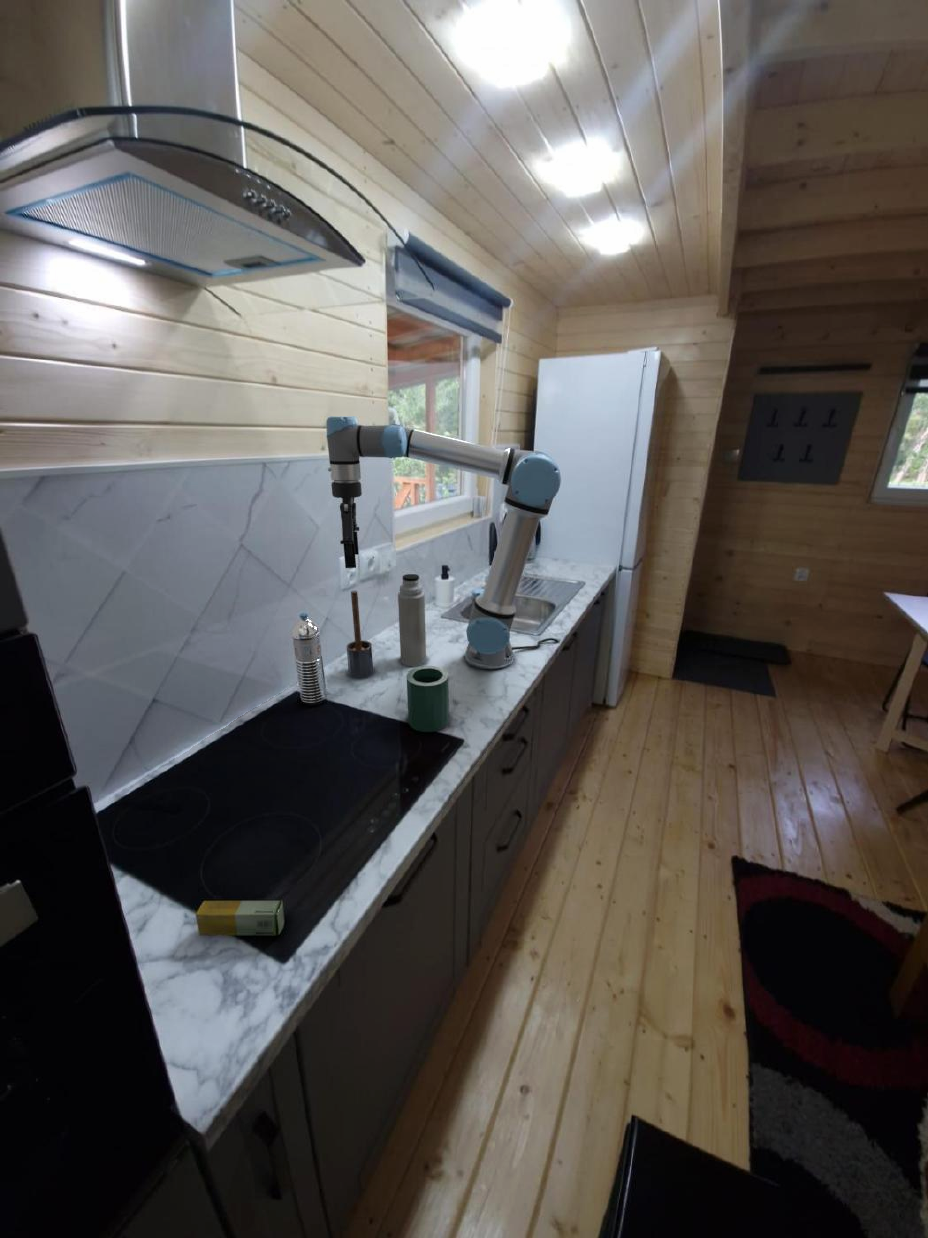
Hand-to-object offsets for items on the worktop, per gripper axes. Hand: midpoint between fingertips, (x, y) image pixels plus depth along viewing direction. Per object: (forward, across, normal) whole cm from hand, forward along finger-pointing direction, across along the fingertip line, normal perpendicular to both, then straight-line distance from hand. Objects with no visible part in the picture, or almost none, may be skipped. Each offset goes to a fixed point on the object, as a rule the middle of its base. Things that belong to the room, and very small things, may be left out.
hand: (352, 560), depth 136 cm
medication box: (+35, +79, -14) cm, 88 cm away
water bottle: (+35, +14, -12) cm, 39 cm away
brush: (+34, 0, 0) cm, 34 cm away
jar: (+35, +28, +18) cm, 48 cm away
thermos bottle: (+35, -6, +16) cm, 39 cm away
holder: (+35, 0, 0) cm, 35 cm away
